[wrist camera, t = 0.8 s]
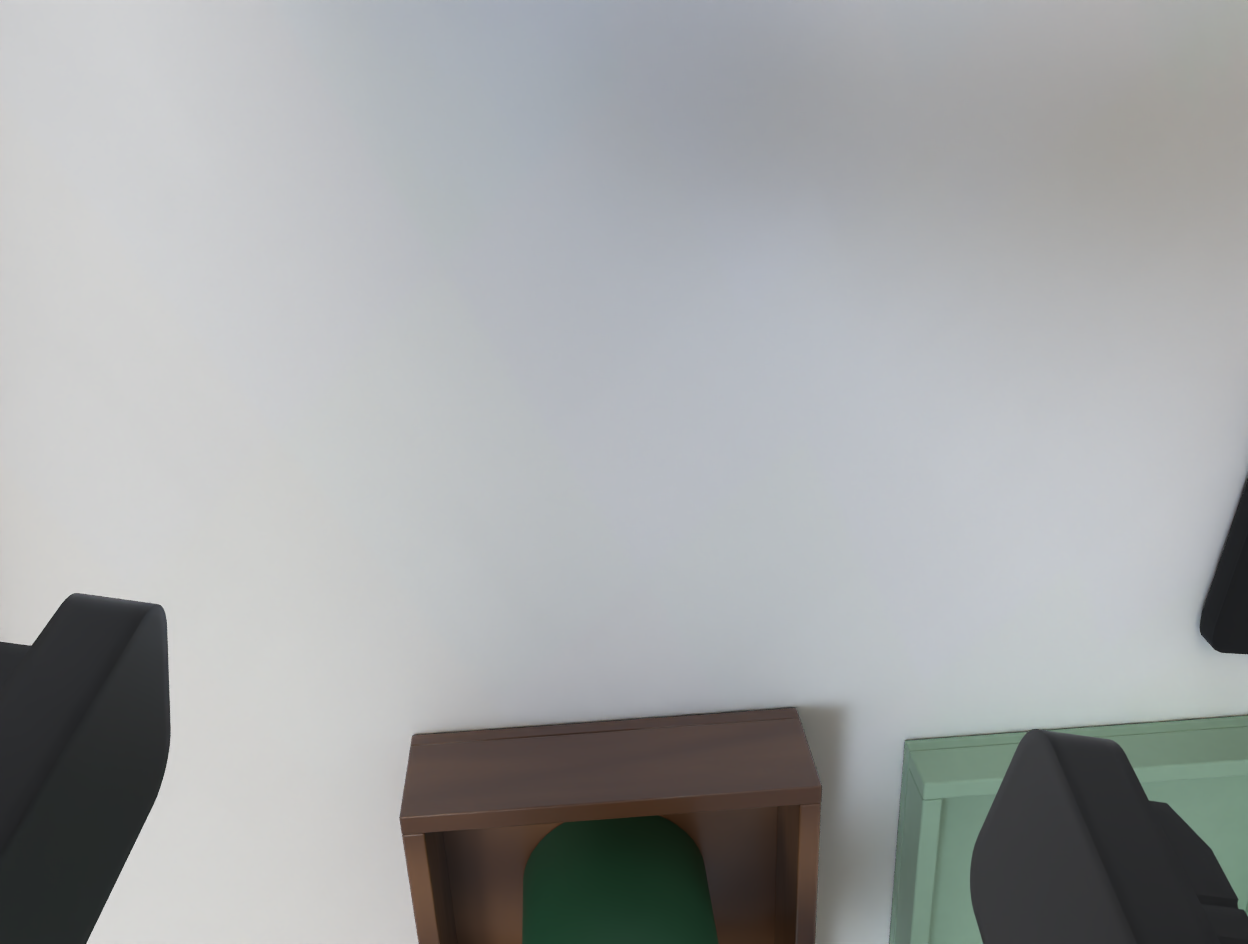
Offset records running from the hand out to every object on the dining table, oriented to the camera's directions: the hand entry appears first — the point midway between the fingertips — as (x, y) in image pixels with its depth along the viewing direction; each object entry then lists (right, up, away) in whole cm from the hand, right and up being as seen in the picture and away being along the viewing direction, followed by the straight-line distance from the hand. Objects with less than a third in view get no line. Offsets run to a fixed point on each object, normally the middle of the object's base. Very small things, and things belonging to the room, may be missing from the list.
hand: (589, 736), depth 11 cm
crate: (0, -10, +26) cm, 28 cm away
